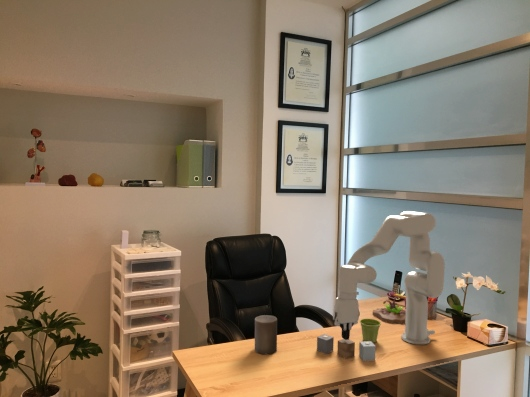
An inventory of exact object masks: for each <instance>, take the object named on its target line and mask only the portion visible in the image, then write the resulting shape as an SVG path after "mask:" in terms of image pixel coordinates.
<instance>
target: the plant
mask: <svg viewBox="0 0 530 397" xmlns="http://www.w3.org/2000/svg"><path fill="white" fill-rule="evenodd" d="M400 299H401V298H400V297H399V296H395V297H394V298H393V300H392V302H391V300H384V301H382V304H383V305H384V308H383V307H381V308H376V309H373V310H372V315H373V317H375V318H377V319H379V320H380V321H381V322H384V323H387V324H393V325H394V324H405V316H406V309H403V308H404V306H400V305H399V303H397V302H396V300H400ZM386 302H387V303H389V304H386Z"/></svg>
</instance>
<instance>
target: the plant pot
mask: <svg viewBox="0 0 530 397" xmlns="http://www.w3.org/2000/svg"><path fill="white" fill-rule="evenodd" d="M381 322H382V321H381V320H380V321H379V320H378V319H375V318H362V319H359V323H360V326H361V333H362V334H361V335H362V342H363V341H371V342H372V343H373V344H374V343H377V342H378V340H377V339H378V335H379V330H380V326H381V325H382V323H381Z"/></svg>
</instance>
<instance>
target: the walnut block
mask: <svg viewBox="0 0 530 397" xmlns="http://www.w3.org/2000/svg"><path fill="white" fill-rule="evenodd" d="M355 346H356V342H355V341H353V340H351V339H349V340H345V339H343V338H342V339H339V340H337V351H336V352H337V355H338V356H339V357H341V358H343V359H345V360H347V359H350V358H354V357H355V351H356V347H355Z"/></svg>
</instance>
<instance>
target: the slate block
mask: <svg viewBox="0 0 530 397" xmlns="http://www.w3.org/2000/svg"><path fill="white" fill-rule="evenodd" d="M358 346H359V349H358V352H359V353H358V356H359V357H360V358H361V360H362V361H363V362H365V361H366V362H367V361H369V362H370V361H376V345H375V344H374V343H372V342H371V341H363V340H362V341H359V345H358Z"/></svg>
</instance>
